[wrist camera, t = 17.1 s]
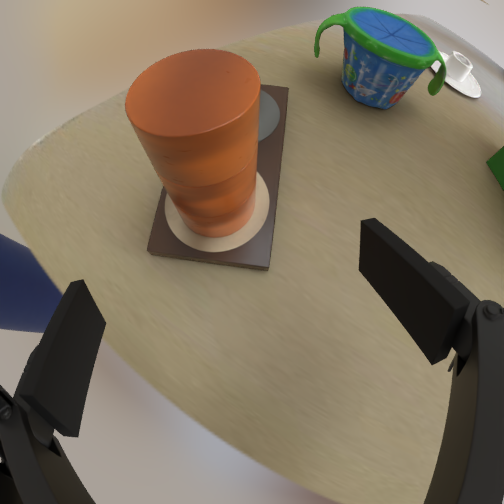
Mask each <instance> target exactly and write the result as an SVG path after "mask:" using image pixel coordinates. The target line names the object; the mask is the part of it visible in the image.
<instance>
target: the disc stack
mask: <svg viewBox="0 0 504 504" xmlns="http://www.w3.org/2000/svg"><path fill="white" fill-rule="evenodd" d="M260 87H261V83H260V77H259V75H258V72H257V71H256V69H255V68H254V67H253V65H252V64H251V63H250V62H248V61H247V60H246V59H244V58H242V57H241V56H239V55H236V54H234V53H231V52H227V51H223V50H216V49H197V50H190V51H185V52H181V53H177V54H174V55H171V56H168V57H166V58H164V59H162V60H160V61H158V62H156V63H155V64H153V65H151V66H150V67H148V68H147V69H146V70H145V71H143V72H142V73H141V74H140V75H139V76H138V77H137V79H136V80H135V81H134V82H133V84H132V85H131V87H130V89H129V91H128V93H127V96H126V102H125V109H126V113H127V116H128V118H129V120H130V122H131V124H132V126H133V128H134V130H135V132H136V134H137V136H138V138H139V140H140V142H141V144H142V146H143V148H144V150H145V152H146V154H147V156H148V157H149V159H150V161H151V163H152V165H153V167H154V169H155V171H156V173H157V174H158V176H159V178H160V180H161V182H162V184H163V186H164V187H165V189H166V191H167V193H168V195H169V197H170V198H171V200H172V202H173V204H174V206H175V207H176V209H177V211H178V213H179V215H180V216H181V218H182V220H183V222H184V223H185V224H186V226H187V227H188V228H189V229H191V230H192V231H193V232H195V233H197V234H199V235H202V236H205V237H213V238H216V237H224V236H228V235H231V234H233V233H235V232H237V231H238V230H240V229H241V228H242V227H243V226H244V225H245V224H246V223H247V222H248V221H249V219H250V218H251V216H252V214H253V211H254V208H255V197H256V175H257V154H258V132H259V109H260Z"/></svg>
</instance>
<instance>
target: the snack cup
mask: <svg viewBox="0 0 504 504" xmlns="http://www.w3.org/2000/svg"><path fill="white" fill-rule="evenodd" d="M333 25H340V26H342V27H343V29H344V46H345V49H344V57H343V67H342V76H341V77H342V83H343V84H344V87H345V88H346V90H347V91H348V93H349V94H351V95H352V96H353V97H354V99H355V100H357V101H358V102H362V103H364V104H366V105H368V106H372V107H378V108H382V109H387V108H389V107H391V106H393V105H395V104H396V103H397V102H398V101H399V100H400V99H401V98H402V97H403V95H404V94H405V93H406V92H407V90H408V89H409V88H410V87H411V86H412V85H413V83H414V82H415V81H416V80H417V79H418V77H419V75H420V74H421V73H422V72H423V71H424V70H425V69H426V68H429V67H430V66H432V65H433V63H434V62H435V61H439V62H440V63H441V65H440V67H439V69H438V71H437V73H436V75H435V77H434V79H432V80H431V81H430V83H429V85H428V91H429V94H430V95H432V96H434V95H436V94H437V93H438V92H439V91H440V89H441V87H442V86H443V83H444V81H445V78H446V65H445V62H444V60H443V58H442V56H441V54H440V53H439V51H438V50H437V48H436V46H435V44H434V43H433V41H432V40H431V39H430V38H429V37H428V36H427V35H426V34H425V33H424V32H423V31H422V30H420V29H419V28H418V27H416V26H415V25H413V24H412V23H410V22H409V21H407V20H405V19H403V18H401V17H399V16H397V15H395V14H392V13H389V12H387V11H383V10H379V9H376V8H370V7H354V8H351V9H349V10H348V11H347V12H345V13H342V14H337V15H333V16H331V17H329V18H328V19H326V20H325V21H324V22H323V23H322V24H321V25H320V26H319V28H318V30H317V33H316V37H315V46H314V52H315V57H316V58H318V56H319V51H320V47H319V39H320V36H321V33H322V32H323V31H324V30H325V29H327V28H329V27H331V26H333Z"/></svg>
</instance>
